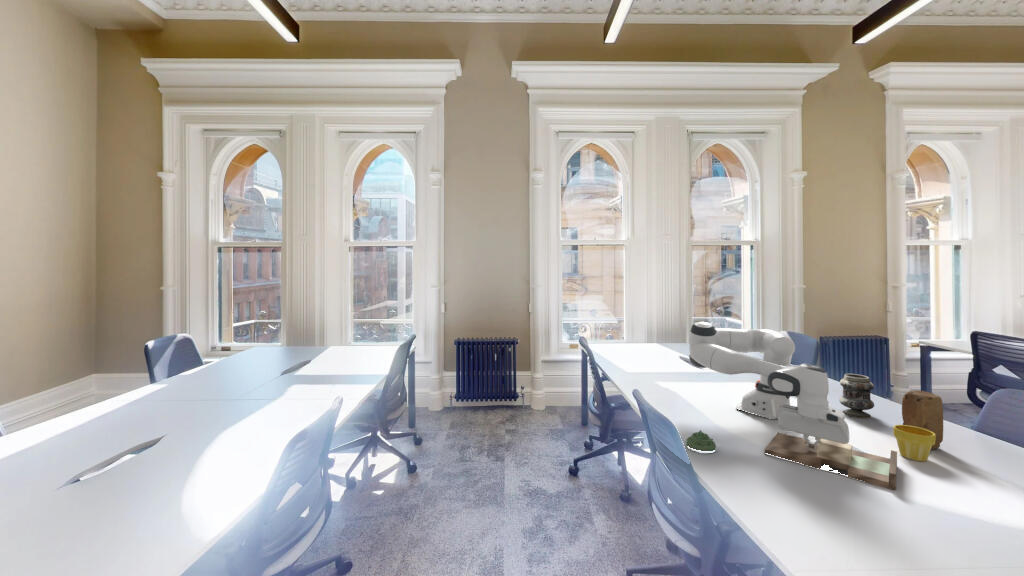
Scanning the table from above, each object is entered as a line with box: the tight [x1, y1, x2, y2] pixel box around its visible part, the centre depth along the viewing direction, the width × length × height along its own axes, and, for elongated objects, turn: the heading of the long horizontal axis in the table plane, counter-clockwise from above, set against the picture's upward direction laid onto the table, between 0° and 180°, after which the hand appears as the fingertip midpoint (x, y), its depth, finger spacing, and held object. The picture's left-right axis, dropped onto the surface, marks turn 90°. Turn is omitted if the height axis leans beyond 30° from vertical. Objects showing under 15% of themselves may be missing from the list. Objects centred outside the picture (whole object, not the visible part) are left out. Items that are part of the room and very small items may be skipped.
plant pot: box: [892, 424, 936, 462], centre depth 136 cm, size 10×10×10 cm
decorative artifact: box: [686, 429, 717, 451], centre depth 147 cm, size 10×7×10 cm
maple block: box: [817, 439, 853, 465], centre depth 134 cm, size 8×8×4 cm
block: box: [901, 390, 944, 450], centre depth 145 cm, size 11×8×20 cm
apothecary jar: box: [838, 373, 875, 419], centre depth 177 cm, size 12×12×18 cm
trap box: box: [764, 431, 898, 491], centre depth 135 cm, size 34×20×5 cm, turn 44°
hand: (811, 447), depth 138 cm, fingers closed
